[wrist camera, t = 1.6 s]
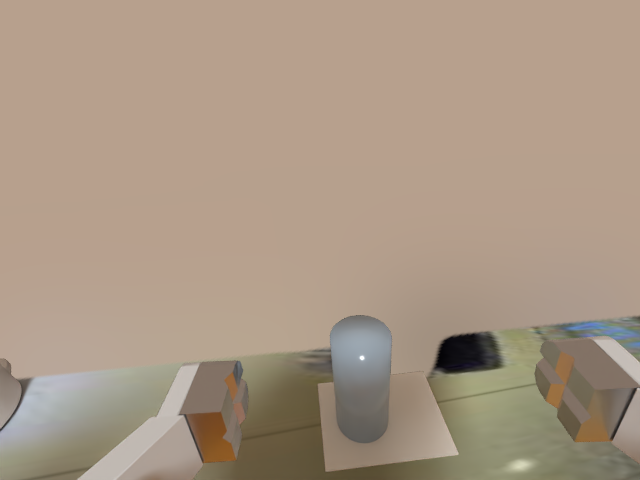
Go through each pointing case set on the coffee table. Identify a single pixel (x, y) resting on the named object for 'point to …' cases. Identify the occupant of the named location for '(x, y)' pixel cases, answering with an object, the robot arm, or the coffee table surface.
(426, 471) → the coffee table surface
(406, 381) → the mat
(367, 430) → the pale blue cylinder
